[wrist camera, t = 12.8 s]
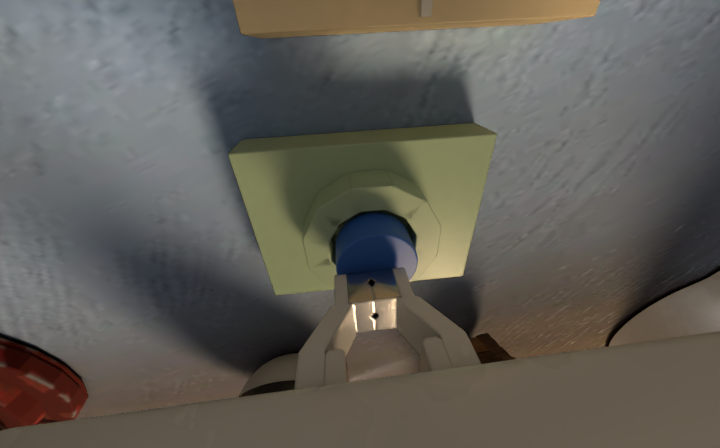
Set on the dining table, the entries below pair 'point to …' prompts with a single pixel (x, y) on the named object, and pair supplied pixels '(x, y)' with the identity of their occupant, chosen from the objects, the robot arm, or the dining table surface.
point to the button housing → (362, 195)
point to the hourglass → (36, 388)
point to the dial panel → (396, 15)
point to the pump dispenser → (273, 376)
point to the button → (374, 245)
